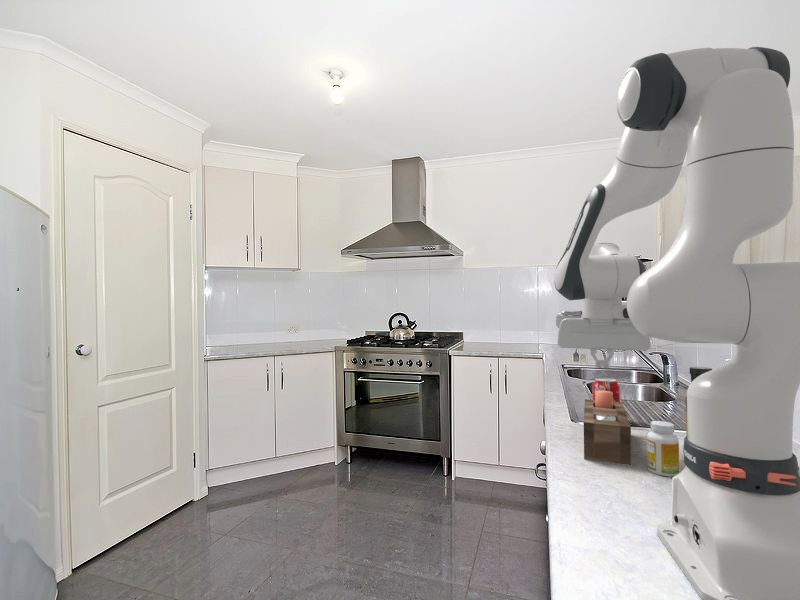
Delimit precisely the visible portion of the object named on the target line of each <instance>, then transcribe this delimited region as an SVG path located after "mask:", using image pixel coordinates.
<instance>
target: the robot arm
mask: <svg viewBox="0 0 800 600" xmlns="http://www.w3.org/2000/svg"><path fill="white" fill-rule="evenodd" d="M790 65H791V64H790V61H789V59H788V57H787V56H786V54H784V52H782V51H780V50H777V49H773V48H769V47H763V46H752V47H749V48H739V47H738V48H737V47H736V48H734V47H733V48H732V47H731V48H729V47H721V48H720V47H718V48H712V47H701V48H693V49H687V50H680V51H676V52H670V53H664V52H658V53H654V54H650V55H648V56H644V57H642V58H639V59H638V60H636V61H634V62H633V63H632V64H631V65H630V66H629V67H628V69H627V70H626V71H625V73H624V75H623V76H622V77H621V81H620V83H619V87H618V91H617V96H616V112H617V116H618V118H619V120H620V122H622V124H623V125H624V126H625V127H624V129H623V132H622V135H621V137H620V142H619V145H618V147H617V152H616V156H615V160H614V162H613V164H612V167H611V168H610V171H609V172H608V174H607V175H606V176H605V178H604V179H603V180H602V181H601V182H600V183H599V184H598V185H595V186H594V187H592V188H591V190H590V191H589V193H588V195H587V197H586V198H585V200H584V202H583V205H582V206H581V209H580V212H579V215H578V217H577V220H576V221H575V224H574V227H573V229H572V232H571V235H570V237H569V240H568V243H567V245H566V248H565V250H564V252H563V254H562V256H561V257H560V259H559V261H558V263H557V265H556V267H555V271H554V277H553V279H554V283H553V284H554V288H555V290H556V291H557V292H558V293H559V294H560V295H561V296H562V297H564V298H565V299H566V300H568V301H578V300H581V310H573V311H567V310H563V311H561V312H559V313H558V314H557V315H556V317H555V325H556V327H557V328H558V334H557V346H558V347H560V348H561V349H580V350H582V349H583V350H584V349H585V350H590V355H591V357H592V358H593V360H594V361H595V363H594V364H595V369H599V368H601V369H609V368H610V367H609V366H610V364H609V362H610V361H611V360H612V358H613V357H614V355H615V354H614V353H615V352H614V351H640V352H647V351H648V350H649V349H650V348H651V338H653V339H658V340H662V341H667V342H675V343H681V344H682V343H683V344H721V345H722V344H724V345H725V344H729V345H730V344H731V345H732V344H733V345H736V346H735V348H736V349H735V352H734V354H733V355H732V357H731V359H729V361H728V362H726V364H724V365H722V366H720V367H717V368H714V369H712V370H711V371H708V372H706V373H704V374H702V375H700V376H698V377H697V378H695V379H694V380H693V381H692V382H691V381H690V384H689V386H688V388H687V389H686V396H687V437H686V436H685V437H684V439H683V446H682V454H683V463H684V465H685V466H684V467H683V469H682V470H680V471H679V474H677V475H676V476H674V477H672V479H671V498H670V499H671V500H670V522H669V523H663V524H659V525H658V526H657V531H656V535H657V536H658V538H660V541H661V542H662V544H664V546H665V547H666V548H665V549H667V551H668V552H669V554H670V555H671V556H672V558H673V559H674V561H675V562H676V564H677V565H678V567H679V568H680V569H681V571H682V572H683V574H684V575H685V577H686V578H687V580H688V581H689V582H690V584H691V586H692V587H693V589H694V590H695V591H696V593H697V594H698V596H699V597H700V598H701V599H702V600H800V466H799V462H798V457H797V455H796V454H795V453H794V452H793V432H794V427H793V426H794V415H795V414H794V412H795V404H796V403H795V401H796V397H797V393H798V390H799V389H800V262H799V261H789V262H788V261H787V262H786V261H782V262H761V263H760V262H759V263H734V257H735V253H736V251H737V249H738V248H739V247H740V245H741V244H742V243H743V242H745V241H747V240H749V239H751V238H754V237H756V236H758V235H761V234H763V233H765V232H767V231H768V230H770V229H772V228H774V227H776V226H777V225H779V223H781V222H782V221H783V220H784V219H785V218H786V217H787V216H788V214H789V212H790V211H791V209H792V206H793V200H794V199H793V198H794V197H793V195H794V194H793V192H794V191H793V190H794V163H795V162H794V161H795V160H794V158H795V157H794V156H795V137H794V136H795V132H794V120H793V112H792V111H793V110H792V106H791V101H790V95H789V91H788V87H789V84H790V80H791V66H790ZM685 158H686V168H685V169H686V173H685V174H686V176H685V177H686V179H685V180H686V181H685V198H684V206H683V207H684V208H683V216H682V222H681V225H680V228H679V231H678V233H677V236H675V239H674V242H673V243H672V245H671V246H670V248H669V249H668V250H667V251H666V252H665V254H664V255H663V256H662V257H661V258H660V259H659V260H658V261H657V262H656V263H655V264H654V265H652V266H651V267H650V268H649V269H647V268H646V265H645V263H644V262H643V261H642V260H641V259H640V258H639V257H638V256H636V255H632V254H631V255H630V254H628V253H625V252H622V251H621V250H620V249H621V248H620V246H618V245H617V244H616V243H612V242H599V243H596V241H597V239H598V236H599V234H600V231H601V230H602V229H603V228H604V227H605V225H607V224H608V223H609V222H611V221H613V220H615V219H616V218H619V217H621V216H623V215H626V214H629V213H631V212H634V211H637V210H640V209H644V208H647V207H648V206H651V205H653V204H655V203H657V202H659V201H661V200H662V199H664V198H665V197H666V196H667V195H669V193H670V192H671V191H672V190H673V188H674V186H675V185H676V183H677V181H678V180H679V176H680V174H681V171H682V168H683V165H684V163H685ZM595 243H596V244H595ZM622 298H626V305H625V304H623V299H622ZM597 350H606V354H607V357H606V358H605V359H598V357H597V355H596V354H597V353H598V351H597Z"/></svg>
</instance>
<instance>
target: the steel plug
mask: <svg viewBox="0 0 800 600" xmlns="http://www.w3.org/2000/svg"><path fill="white" fill-rule="evenodd" d="M596 419H597V420H607V421H616V417H615V416H612V415H606V414H598V415H596Z"/></svg>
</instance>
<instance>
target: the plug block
mask: <svg viewBox="0 0 800 600" xmlns="http://www.w3.org/2000/svg"><path fill="white" fill-rule="evenodd" d="M583 406H584V407H583V408H584V409H583V410H584V412H583V459H584V460H588V461H595V462H596V461H597V462H603V463H604V462H605V463H610V464H611V463H612V464H617V465H626V466H632V426H631V424H630V420H629V417H628V415H627V411H626V409H625V405H624V402H622V401H620V402H613V409H609V408H598V407H595V400H593V399H588V398H587V399H584V405H583ZM598 414H606V415H612V416H615V417H616V421H607V420H597V419H596V415H598Z"/></svg>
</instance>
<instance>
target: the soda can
mask: <svg viewBox="0 0 800 600" xmlns="http://www.w3.org/2000/svg"><path fill="white" fill-rule="evenodd" d="M620 389H621V388H620V385H619V383H618V380H617V379H615V378H611V377H610V378H609V377H596V378H595V380H594V382H593V384H592V400H595V391H598V390H603V391H610V392H613V402H621V391H620Z"/></svg>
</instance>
